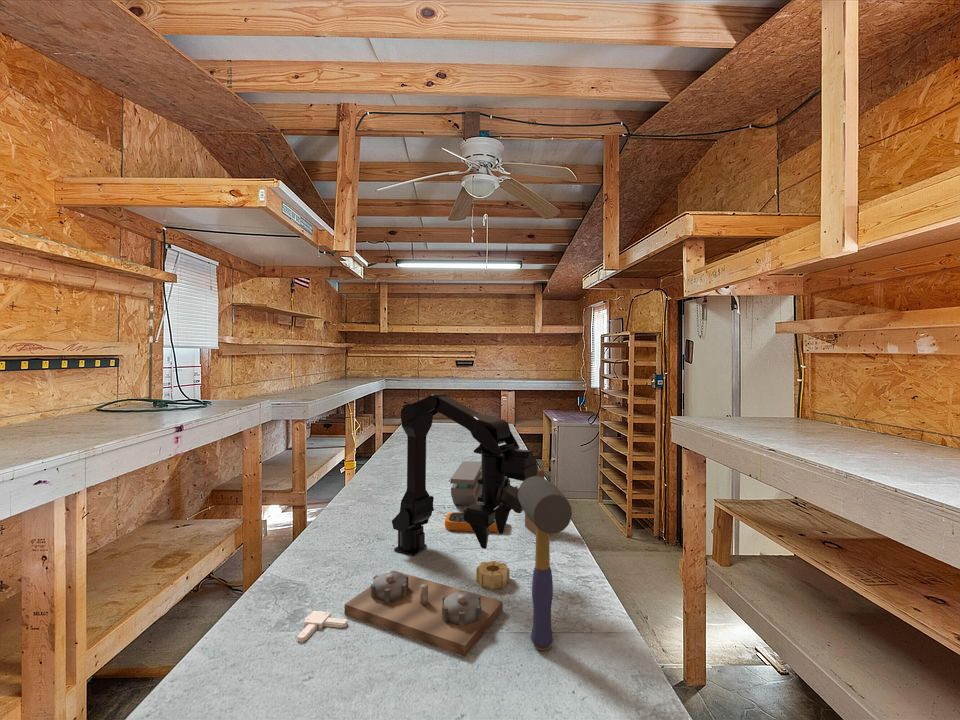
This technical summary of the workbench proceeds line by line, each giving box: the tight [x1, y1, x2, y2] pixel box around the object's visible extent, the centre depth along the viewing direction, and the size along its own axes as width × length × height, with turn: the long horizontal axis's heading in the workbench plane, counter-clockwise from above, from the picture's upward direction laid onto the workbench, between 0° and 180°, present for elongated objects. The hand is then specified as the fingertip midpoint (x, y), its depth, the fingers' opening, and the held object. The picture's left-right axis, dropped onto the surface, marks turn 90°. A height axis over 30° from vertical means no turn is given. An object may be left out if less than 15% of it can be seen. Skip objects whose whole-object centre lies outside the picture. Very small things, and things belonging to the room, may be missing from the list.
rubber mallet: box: [518, 476, 573, 651], centre depth 82 cm, size 12×8×30 cm, turn 9°
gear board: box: [344, 570, 504, 658], centre depth 93 cm, size 28×16×6 cm, turn 63°
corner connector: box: [296, 610, 348, 643], centre depth 87 cm, size 8×8×2 cm
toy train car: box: [449, 460, 481, 506], centre depth 164 cm, size 25×8×11 cm, turn 172°
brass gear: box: [475, 560, 511, 591], centre depth 106 cm, size 8×8×3 cm
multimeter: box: [444, 511, 498, 533], centre depth 139 cm, size 9×18×3 cm, turn 85°
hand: (492, 540), depth 106 cm, fingers open, 9 cm apart
